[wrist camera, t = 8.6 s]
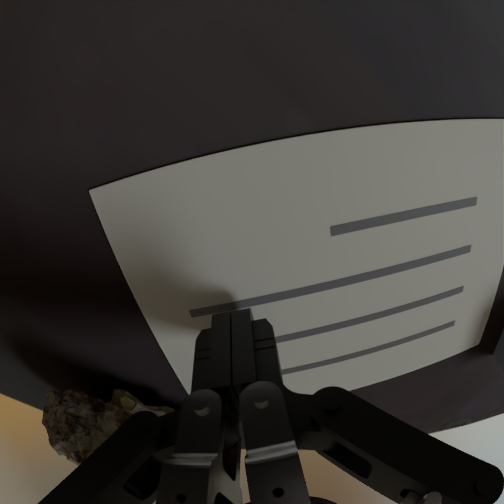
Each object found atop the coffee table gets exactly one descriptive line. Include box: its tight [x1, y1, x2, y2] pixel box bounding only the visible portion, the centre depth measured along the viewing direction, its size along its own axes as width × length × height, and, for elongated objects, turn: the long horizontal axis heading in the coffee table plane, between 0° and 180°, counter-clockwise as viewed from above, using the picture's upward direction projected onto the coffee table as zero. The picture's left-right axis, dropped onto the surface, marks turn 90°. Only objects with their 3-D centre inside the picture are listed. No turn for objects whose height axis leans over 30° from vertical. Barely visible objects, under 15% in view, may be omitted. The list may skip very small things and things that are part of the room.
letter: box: [89, 119, 504, 395], centre depth 13 cm, size 14×18×1 cm
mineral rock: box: [42, 389, 175, 466], centre depth 13 cm, size 11×4×8 cm
